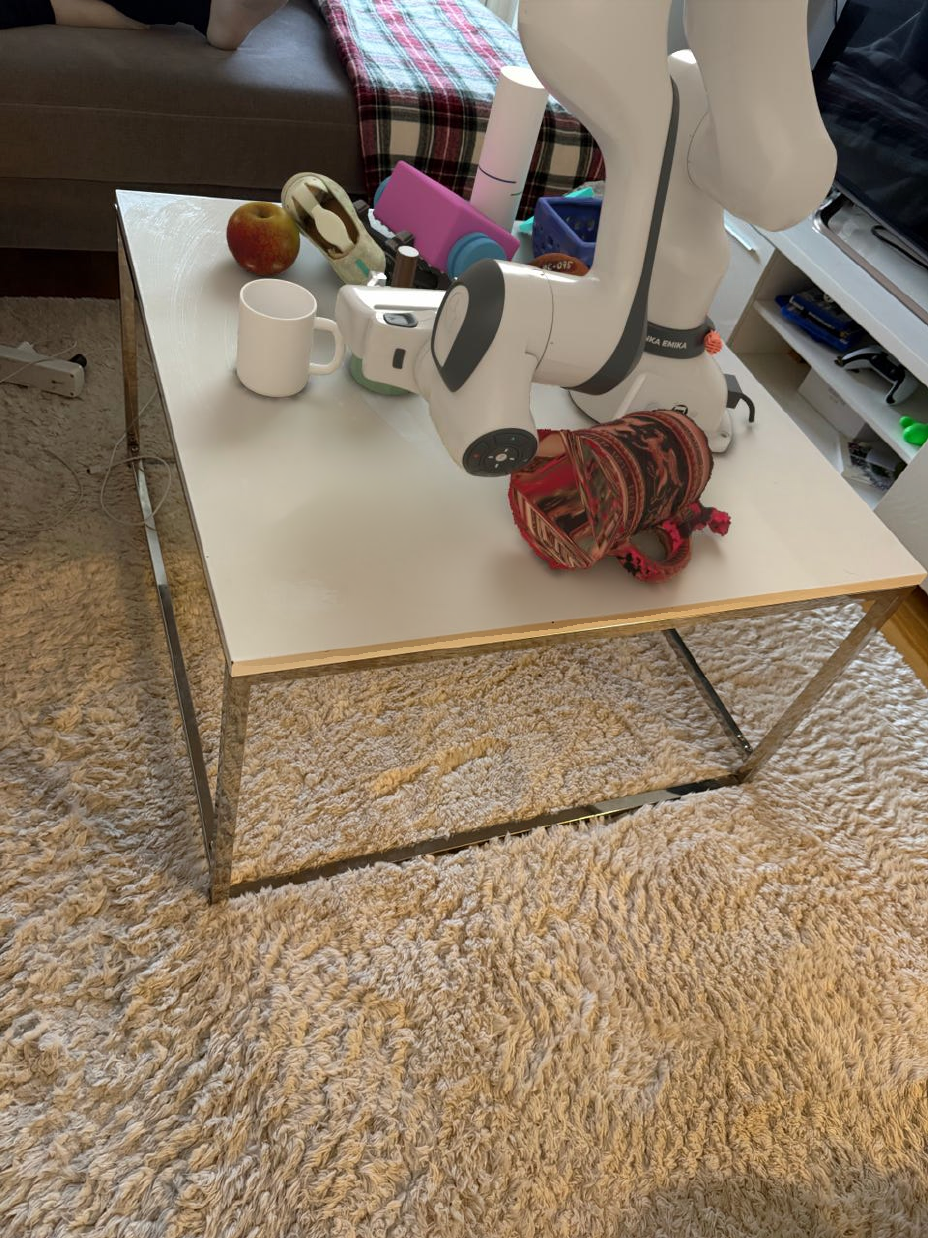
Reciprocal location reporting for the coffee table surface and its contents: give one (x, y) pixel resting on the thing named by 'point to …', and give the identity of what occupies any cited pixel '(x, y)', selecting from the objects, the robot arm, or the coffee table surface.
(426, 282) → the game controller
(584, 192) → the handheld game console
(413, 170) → the toy
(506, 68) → the cylindrical container
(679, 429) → the red woven bag
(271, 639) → the coffee table surface
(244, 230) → the fruit
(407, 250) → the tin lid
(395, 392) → the lunch tin
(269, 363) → the cup
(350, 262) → the ballet flat
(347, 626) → the coffee table surface
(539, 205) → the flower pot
